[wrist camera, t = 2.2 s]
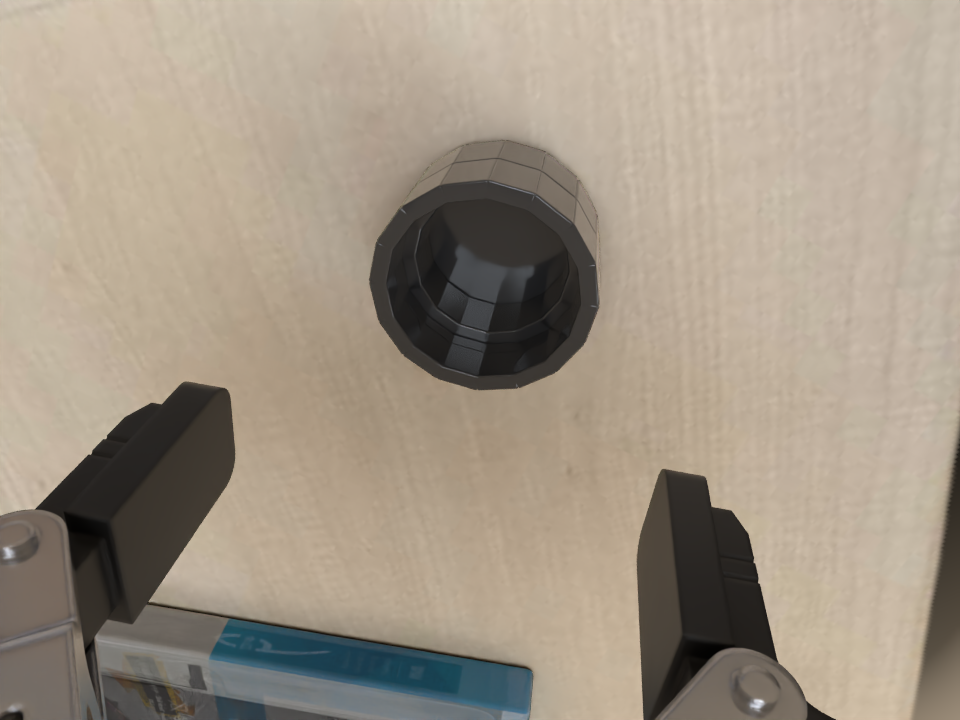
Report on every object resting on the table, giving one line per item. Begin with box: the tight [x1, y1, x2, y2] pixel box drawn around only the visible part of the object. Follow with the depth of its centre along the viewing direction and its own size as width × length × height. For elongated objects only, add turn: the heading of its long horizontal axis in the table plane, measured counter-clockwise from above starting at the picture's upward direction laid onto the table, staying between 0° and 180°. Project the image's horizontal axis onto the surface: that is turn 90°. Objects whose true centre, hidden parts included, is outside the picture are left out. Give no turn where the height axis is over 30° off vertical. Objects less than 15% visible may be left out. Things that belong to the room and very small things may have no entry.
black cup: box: [369, 140, 600, 390], centre depth 22 cm, size 6×6×4 cm
